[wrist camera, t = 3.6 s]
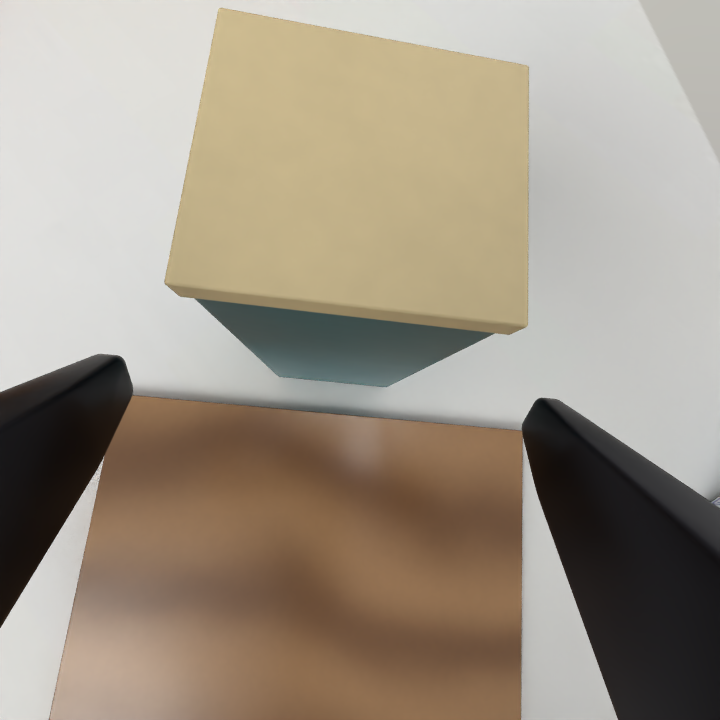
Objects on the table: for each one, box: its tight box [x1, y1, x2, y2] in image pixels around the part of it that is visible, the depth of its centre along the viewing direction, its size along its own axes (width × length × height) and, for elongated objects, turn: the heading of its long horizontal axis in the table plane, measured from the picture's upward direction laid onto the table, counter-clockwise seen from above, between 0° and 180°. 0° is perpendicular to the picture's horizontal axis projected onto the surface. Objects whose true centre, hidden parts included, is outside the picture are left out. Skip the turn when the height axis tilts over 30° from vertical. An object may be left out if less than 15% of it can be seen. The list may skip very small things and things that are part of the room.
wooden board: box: [49, 395, 523, 720], centre depth 16 cm, size 18×20×1 cm
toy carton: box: [165, 8, 529, 387], centre depth 12 cm, size 5×6×12 cm
